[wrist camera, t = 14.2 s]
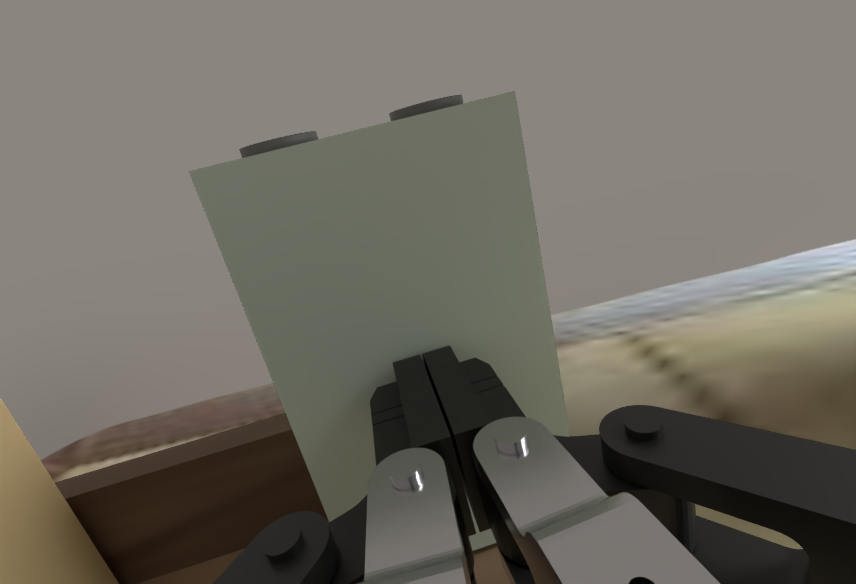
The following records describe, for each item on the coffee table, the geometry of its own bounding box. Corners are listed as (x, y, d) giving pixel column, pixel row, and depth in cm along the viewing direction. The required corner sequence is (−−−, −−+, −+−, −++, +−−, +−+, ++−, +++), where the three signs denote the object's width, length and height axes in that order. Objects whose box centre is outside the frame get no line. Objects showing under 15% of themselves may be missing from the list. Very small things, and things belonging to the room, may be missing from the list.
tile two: (582, 513, 14) (513, 78, 10) (357, 590, 13) (183, 158, 9) (541, 451, 16) (475, 96, 12) (355, 512, 16) (223, 158, 12)
